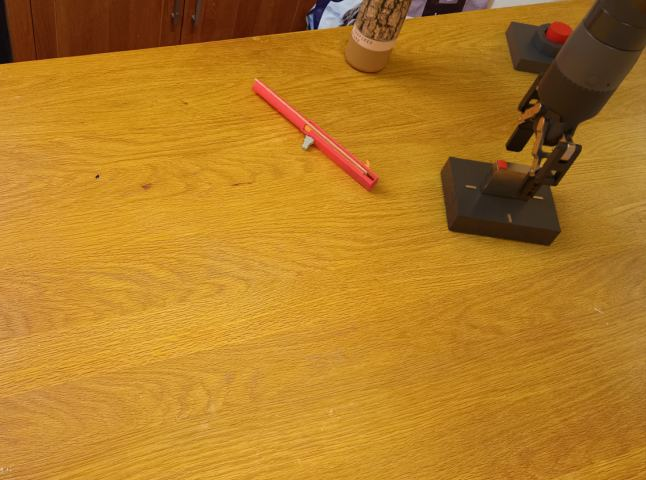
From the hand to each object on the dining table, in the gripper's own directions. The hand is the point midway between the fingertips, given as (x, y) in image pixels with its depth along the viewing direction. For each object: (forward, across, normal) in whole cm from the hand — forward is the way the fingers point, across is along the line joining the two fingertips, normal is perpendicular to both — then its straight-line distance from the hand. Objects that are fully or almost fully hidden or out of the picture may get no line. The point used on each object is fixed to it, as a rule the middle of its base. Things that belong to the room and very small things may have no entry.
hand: (517, 172), depth 96 cm
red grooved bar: (+7, +8, +26) cm, 28 cm away
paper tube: (+7, +28, +17) cm, 33 cm away
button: (+3, +37, -14) cm, 40 cm away
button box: (+7, +37, -14) cm, 40 cm away
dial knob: (+4, 0, 0) cm, 4 cm away
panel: (+7, 0, 0) cm, 7 cm away
